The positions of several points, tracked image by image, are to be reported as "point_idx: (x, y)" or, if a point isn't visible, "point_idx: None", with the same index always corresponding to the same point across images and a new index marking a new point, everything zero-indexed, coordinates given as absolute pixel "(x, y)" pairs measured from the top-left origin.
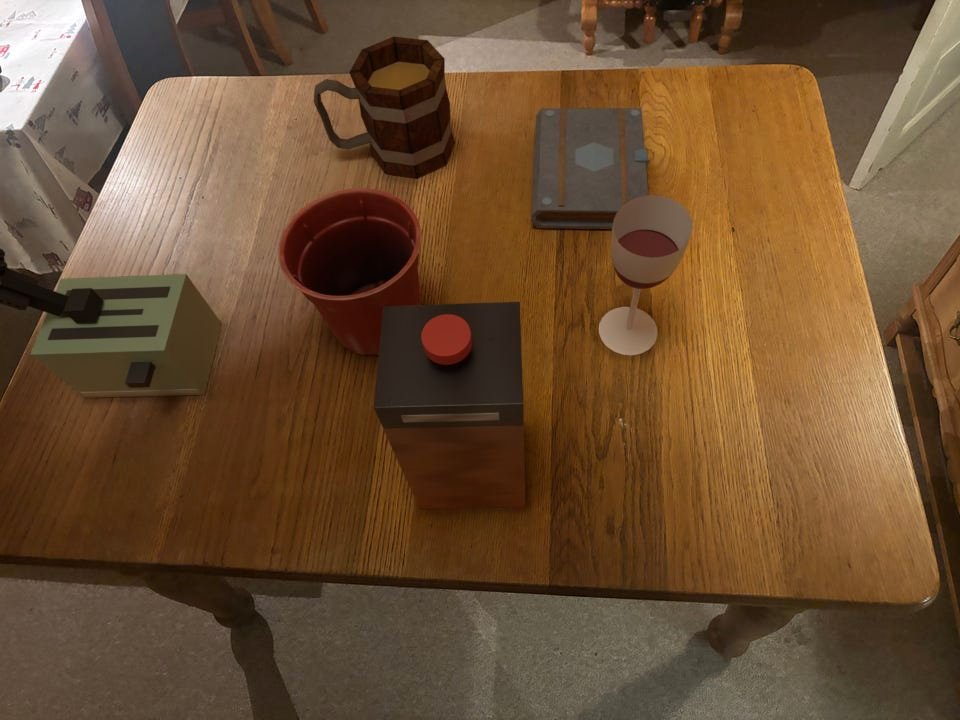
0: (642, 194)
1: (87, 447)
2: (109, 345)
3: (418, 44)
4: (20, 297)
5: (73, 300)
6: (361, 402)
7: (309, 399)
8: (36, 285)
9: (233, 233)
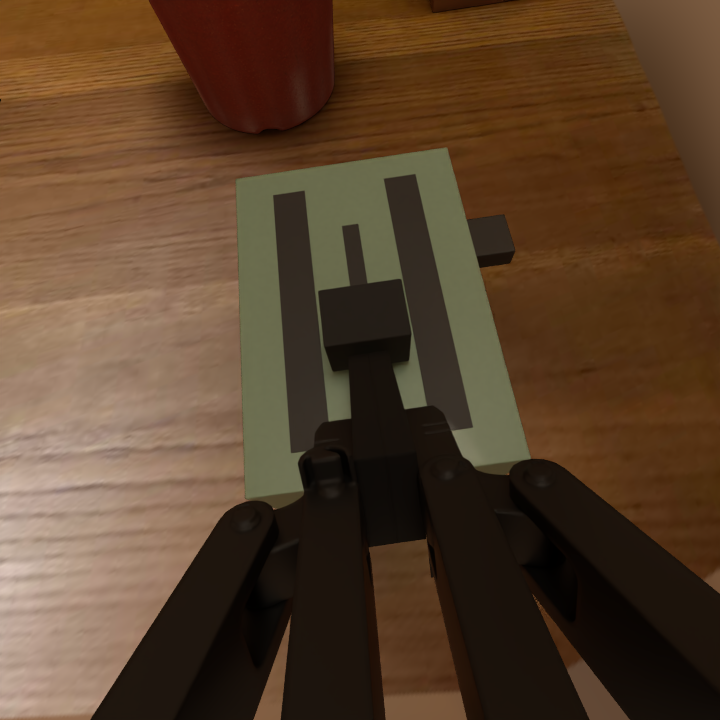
0: None
1: (581, 433)
2: (456, 259)
3: None
4: (419, 423)
5: (368, 322)
6: (406, 75)
7: (412, 130)
8: (353, 397)
9: (64, 340)
